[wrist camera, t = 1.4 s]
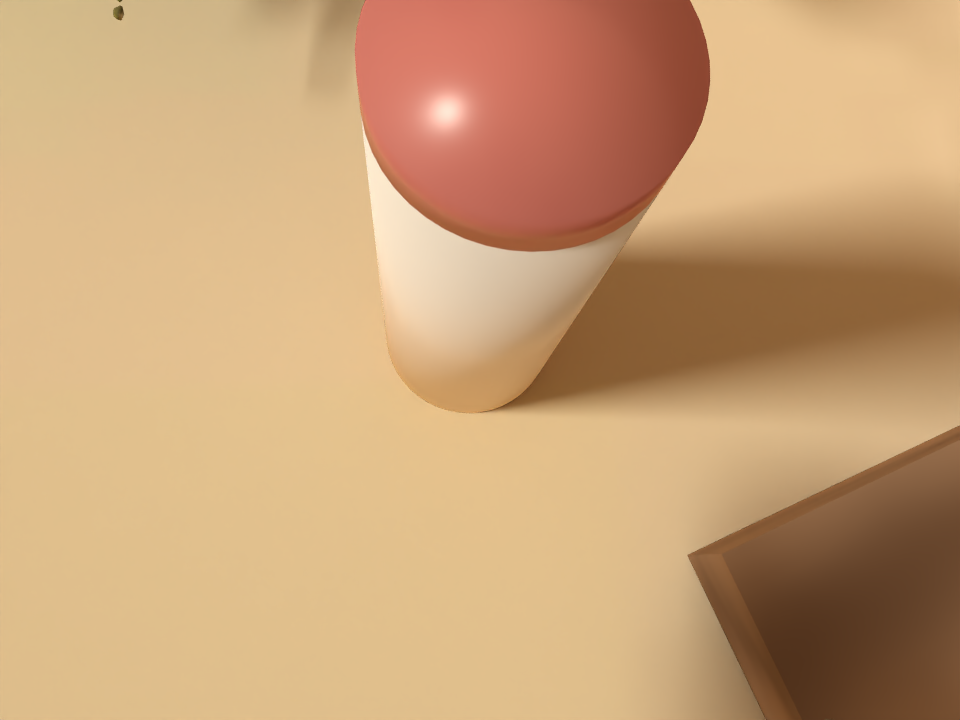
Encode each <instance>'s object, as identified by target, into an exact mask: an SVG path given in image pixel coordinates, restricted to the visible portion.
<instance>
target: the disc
mask: <svg viewBox="0 0 960 720" xmlns="http://www.w3.org/2000/svg"><path fill="white" fill-rule="evenodd" d="M118 1H119V2H121V1H122V0H118ZM113 15H114V17H115V18H116V19H118V20H122V18H123V15H124V12H123V7H122V6H119V7H116V8H114V10H113Z"/></svg>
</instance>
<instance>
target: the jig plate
mask: <svg viewBox="0 0 960 720" xmlns="http://www.w3.org/2000/svg"><path fill="white" fill-rule="evenodd" d="M688 557H689V559H690V562H691V564H692V566H693V568H694V570H695V572H696V574H697V576H698V578H699V580H700V582H701V585H702V587H703V589H704V591H705V593H706V595H707V597H708V599H709V601H710V603H711V605H712V608H713V610H714V612H715V614H716V616H717V618H718V620H719V622H720V624H721V626H722V628H723V630H724V633H725V635H726V637H727V639H728V641H729V643H730V645H731V647H732V649H733V651H734V653H735V656H736V658H737V660H738V662H739V664H740V666H741V668H742V670H743V672H744V674H745V676H746V679H747V681H748V683H749V685H750V687H751V689H752V691H753V693H754V695H755V697H756V699H757V702H758V704H759V706H760V708H761V710H762V712H763V714H764V716H765V718H766V720H824V719H832V720H960V426H958V427H956V428H954V429H951V430H949V431H947V432H945V433H943V434H941V435H939V436H937V437H935V438H933V439H930V440H928V441H926V442H924V443H922V444H920V445H918V446H916V447H914V448H912V449H909V450H907V451H905V452H903V453H901V454H899V455H897V456H895V457H893V458H890V459H888V460H886V461H884V462H882V463H880V464H878V465H876V466H874V467H872V468H869V469H867V470H865V471H863V472H861V473H859V474H857V475H855V476H853V477H851V478H848V479H846V480H844V481H842V482H840V483H838V484H836V485H834V486H832V487H830V488H827V489H825V490H823V491H821V492H819V493H817V494H815V495H813V496H811V497H809V498H806V499H804V500H802V501H800V502H798V503H796V504H794V505H792V506H790V507H788V508H785V509H783V510H781V511H779V512H777V513H775V514H773V515H771V516H769V517H767V518H764V519H762V520H760V521H758V522H756V523H754V524H752V525H750V526H748V527H746V528H743V529H741V530H739V531H737V532H735V533H733V534H731V535H729V536H727V537H725V538H722V539H720V540H718V541H716V542H714V543H712V544H710V545H708V546H706V547H704V548H701V549H699V550H697V551H695V552H693V553H691V554H689V555H688Z"/></svg>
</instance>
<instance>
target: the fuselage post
mask: <svg viewBox="0 0 960 720" xmlns="http://www.w3.org/2000/svg"><path fill="white" fill-rule="evenodd" d="M355 61H356V74H357V83H358V92H359V101H360V110H361V119H362V128H363V136H364V145H365V154H366V163H367V172H368V181H369V190H370V198H371V207H372V216H373V225H374V234H375V243H376V251H377V260H378V269H379V278H380V287H381V296H382V305H383V313H384V322H385V331H386V340H387V346H388V351H389V355H390V358H391V361H392V364H393V366H394V368H395V369H396V371H397V373H398V375H399V376H400V378H401V379H402V381H403V382H404V383H405V384H406V385H407V386H408V387H409V389H410V390H412V391H413V392H414V393H415V394H416V395H417V396H419V397H420V398H422V399H423V400H425V401H426V402H428V403H430V404H432V405H434V406H436V407H439V408H442V409H445V410H448V411H454V412H460V413H477V412H484V411H489V410H493V409H496V408H498V407H501V406H503V405H505V404H507V403H509V402H511V401H512V400H514V399H515V398H517V397H518V396H520V395H521V394H522V393H523V392H524V391H525V390H526V389H527V388H528V387H529V386H530V385H531V384H532V382H533V381H534V380H535V378H536V377H537V375H538V374H539V372H540V371H541V369H542V368H543V366H544V365H545V363H546V362H547V360H548V359H549V357H550V356H551V354H552V353H553V351H554V350H555V348H556V347H557V345H558V344H559V342H560V341H561V339H562V338H563V336H564V335H565V333H566V332H567V330H568V329H569V327H570V326H571V324H572V323H573V321H574V320H575V318H576V317H577V315H578V314H579V312H580V311H581V309H582V308H583V306H584V305H585V303H586V302H587V300H588V299H589V297H590V296H591V294H592V293H593V291H594V290H595V288H596V287H597V285H598V284H599V282H600V281H601V279H602V278H603V276H604V275H605V273H606V272H607V270H608V269H609V267H610V266H611V264H612V263H613V261H614V260H615V258H616V257H617V255H618V254H619V252H620V251H621V249H622V248H623V246H624V245H625V243H626V242H627V240H628V239H629V237H630V236H631V234H632V233H633V231H634V230H635V228H636V227H637V225H638V224H639V222H640V221H641V219H642V218H643V216H644V215H645V213H646V212H647V210H648V209H649V207H650V206H651V204H652V203H653V201H654V200H655V198H656V197H657V195H658V194H659V192H660V191H661V189H662V188H663V186H664V185H665V183H666V182H667V180H668V179H669V177H670V176H671V174H672V173H673V171H674V170H675V168H676V167H677V165H678V164H679V162H680V161H681V159H682V158H683V156H684V154H685V153H686V151H687V150H688V148H689V147H690V145H691V143H692V142H693V140H694V138H695V136H696V134H697V132H698V129H699V127H700V125H701V123H702V120H703V116H704V113H705V109H706V105H707V102H708V94H709V86H710V61H709V55H708V49H707V43H706V39H705V36H704V33H703V29H702V26H701V23H700V20H699V18H698V16H697V14H696V12H695V10H694V8H693V6H692V3H691V1H690V0H365V3H364V5H363V7H362V10H361V14H360V18H359V22H358V26H357V32H356V43H355Z"/></svg>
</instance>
